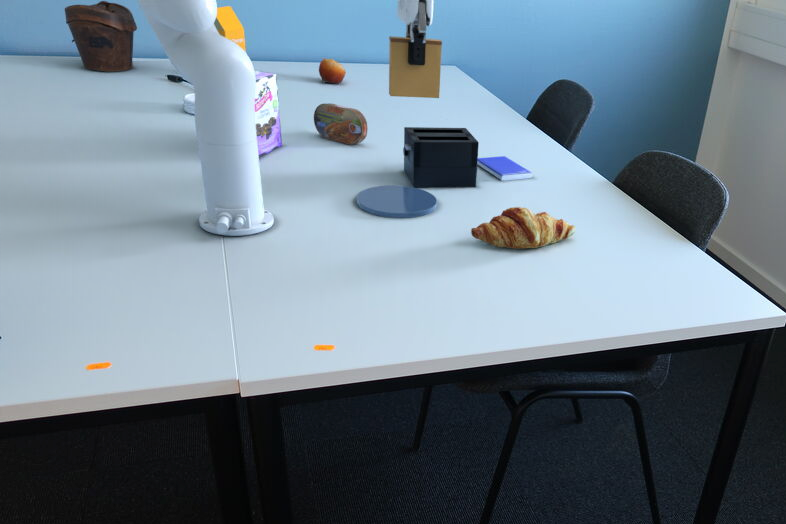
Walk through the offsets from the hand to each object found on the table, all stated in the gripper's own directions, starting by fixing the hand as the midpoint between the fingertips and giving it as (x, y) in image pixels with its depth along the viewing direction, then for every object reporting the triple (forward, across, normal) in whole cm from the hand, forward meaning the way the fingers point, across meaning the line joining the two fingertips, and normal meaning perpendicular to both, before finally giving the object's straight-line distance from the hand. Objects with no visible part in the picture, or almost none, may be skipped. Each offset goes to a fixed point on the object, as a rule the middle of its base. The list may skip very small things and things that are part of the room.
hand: (415, 62), depth 143 cm
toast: (+6, 0, 0) cm, 6 cm away
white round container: (+27, -65, -40) cm, 81 cm away
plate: (+27, +4, -4) cm, 27 cm away
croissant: (+27, +26, +16) cm, 41 cm away
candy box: (+27, -31, -29) cm, 50 cm away
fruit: (+26, -101, -4) cm, 105 cm away
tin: (+27, -40, -9) cm, 49 cm away
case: (+27, -113, -67) cm, 134 cm away
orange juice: (+27, -101, -34) cm, 110 cm away
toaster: (+26, -10, +8) cm, 30 cm away
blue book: (+26, -16, +25) cm, 40 cm away
